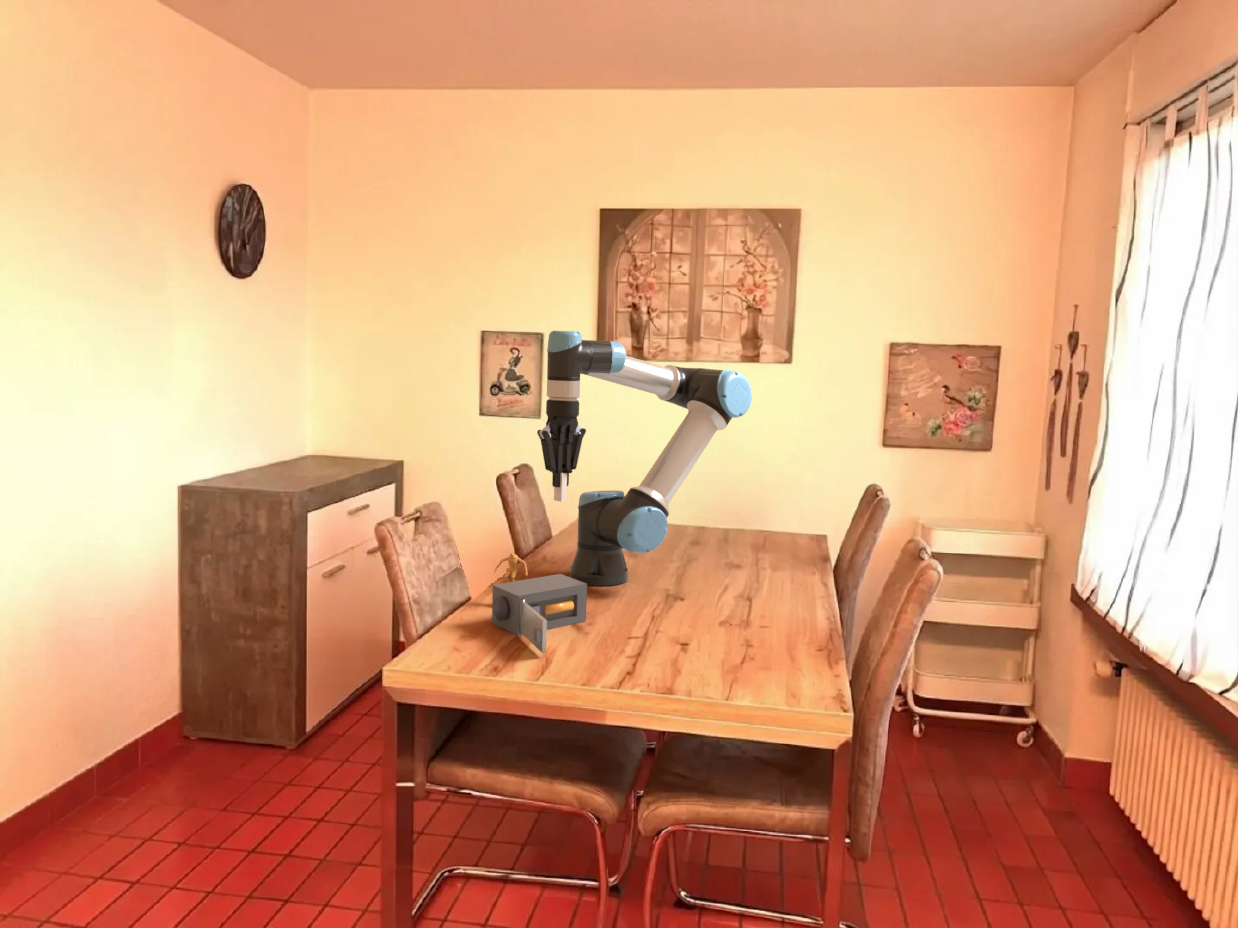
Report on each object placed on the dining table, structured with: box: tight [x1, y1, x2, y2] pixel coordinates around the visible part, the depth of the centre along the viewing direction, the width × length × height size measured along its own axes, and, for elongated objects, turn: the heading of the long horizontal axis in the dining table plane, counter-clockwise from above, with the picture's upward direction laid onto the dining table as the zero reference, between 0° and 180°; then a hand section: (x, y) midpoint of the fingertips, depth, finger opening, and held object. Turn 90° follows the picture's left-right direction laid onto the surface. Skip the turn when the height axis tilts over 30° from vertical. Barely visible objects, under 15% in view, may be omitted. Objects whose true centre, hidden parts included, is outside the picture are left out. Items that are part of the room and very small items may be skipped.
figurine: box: [494, 552, 528, 583], centre depth 216 cm, size 8×6×12 cm
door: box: [519, 599, 548, 654], centre depth 187 cm, size 14×2×7 cm, turn 24°
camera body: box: [491, 573, 588, 636], centre depth 203 cm, size 19×10×8 cm, turn 130°
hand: (560, 500), depth 216 cm, fingers closed
